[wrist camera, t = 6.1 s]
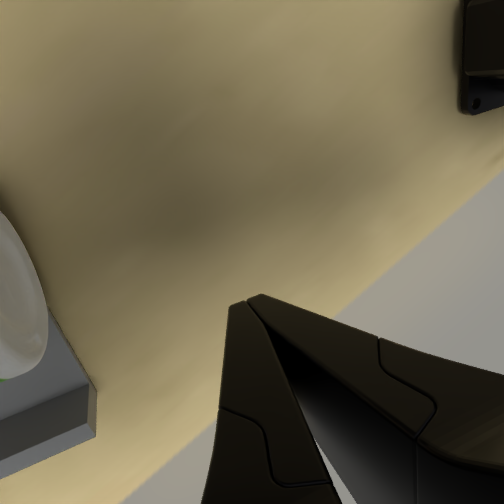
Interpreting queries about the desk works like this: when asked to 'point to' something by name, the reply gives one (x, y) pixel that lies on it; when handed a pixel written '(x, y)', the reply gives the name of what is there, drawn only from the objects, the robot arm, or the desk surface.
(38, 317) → the supplement bottle
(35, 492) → the desk surface
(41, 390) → the tray
